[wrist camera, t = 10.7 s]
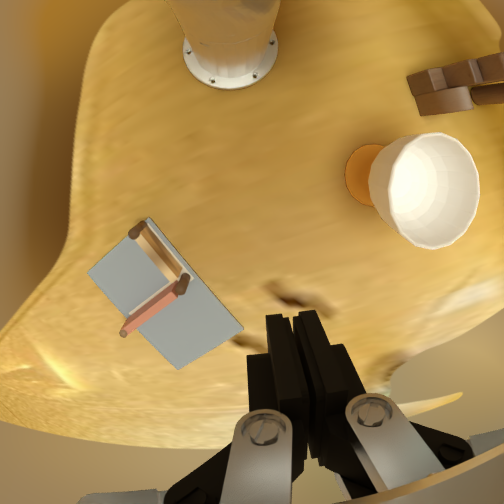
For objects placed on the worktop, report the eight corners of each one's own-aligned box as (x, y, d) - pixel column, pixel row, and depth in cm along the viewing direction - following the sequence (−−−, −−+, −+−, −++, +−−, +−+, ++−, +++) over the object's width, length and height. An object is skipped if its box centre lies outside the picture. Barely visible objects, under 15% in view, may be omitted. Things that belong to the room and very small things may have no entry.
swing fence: (176, 279, 46) (171, 292, 42) (181, 286, 47) (176, 298, 43) (126, 319, 48) (117, 333, 44) (131, 324, 48) (123, 338, 44)
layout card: (87, 272, 46) (86, 273, 46) (149, 216, 44) (148, 217, 44) (178, 369, 52) (177, 370, 52) (243, 328, 50) (244, 329, 50)
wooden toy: (419, 118, 41) (545, 112, 17) (405, 76, 39) (524, 41, 15) (484, 104, 40) (598, 102, 16) (473, 67, 38) (584, 48, 14)
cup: (418, 156, 43) (493, 167, 26) (390, 227, 46) (453, 265, 30) (353, 120, 41) (414, 109, 25) (322, 196, 44) (368, 224, 28)
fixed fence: (136, 225, 44) (126, 233, 40) (143, 219, 44) (133, 226, 39) (185, 283, 47) (180, 297, 43) (192, 278, 47) (188, 291, 42)
